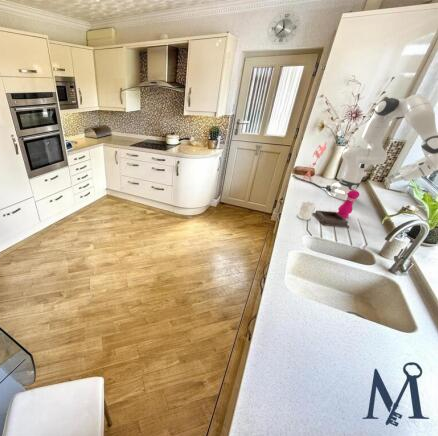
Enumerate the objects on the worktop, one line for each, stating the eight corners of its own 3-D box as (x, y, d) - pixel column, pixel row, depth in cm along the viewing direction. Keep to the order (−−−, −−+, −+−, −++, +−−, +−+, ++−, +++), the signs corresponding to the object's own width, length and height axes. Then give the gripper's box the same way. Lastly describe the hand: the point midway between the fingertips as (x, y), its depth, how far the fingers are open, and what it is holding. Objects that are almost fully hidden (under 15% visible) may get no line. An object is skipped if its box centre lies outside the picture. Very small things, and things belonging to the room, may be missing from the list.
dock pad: (311, 213, 160) (313, 209, 158) (334, 215, 159) (337, 211, 157) (323, 225, 147) (325, 220, 145) (348, 227, 146) (351, 222, 144)
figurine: (301, 182, 214) (317, 143, 197) (302, 174, 233) (317, 138, 216) (321, 185, 207) (339, 146, 190) (320, 177, 227) (337, 140, 209)
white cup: (309, 216, 157) (315, 203, 152) (310, 221, 150) (317, 208, 145) (296, 213, 159) (301, 200, 154) (297, 218, 153) (302, 205, 148)
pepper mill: (350, 218, 156) (366, 191, 146) (338, 217, 157) (353, 190, 147) (345, 213, 162) (359, 187, 152) (333, 212, 163) (347, 185, 153)
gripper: (416, 158, 136) (385, 171, 146) (424, 165, 121) (389, 178, 131) (422, 167, 136) (391, 179, 145) (431, 175, 121) (395, 188, 131)
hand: (390, 179), depth 138 cm, fingers open, 8 cm apart
